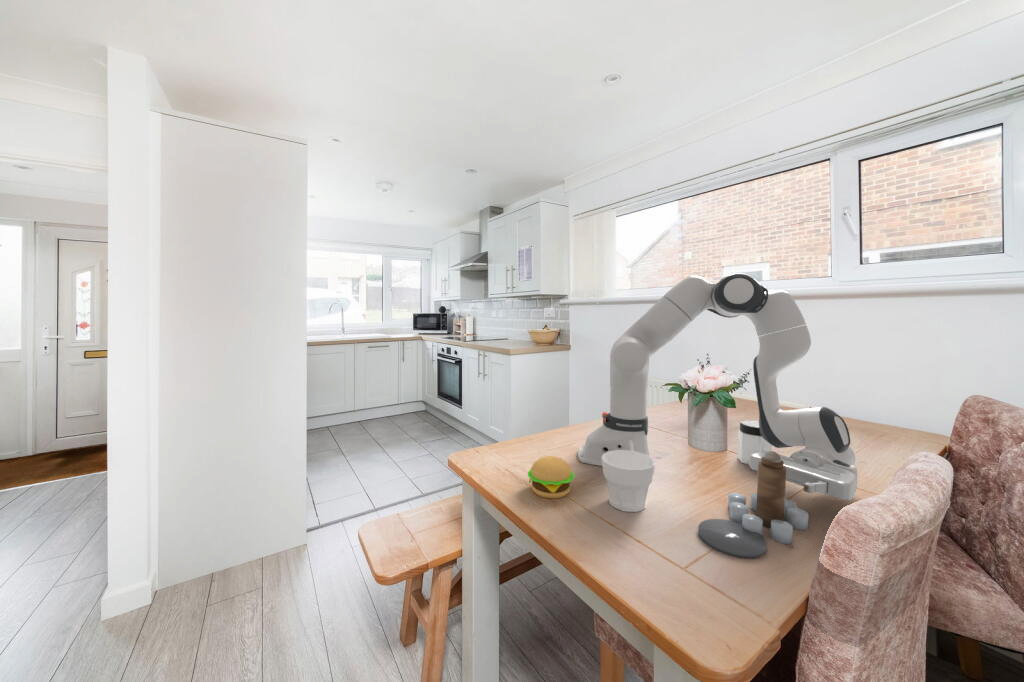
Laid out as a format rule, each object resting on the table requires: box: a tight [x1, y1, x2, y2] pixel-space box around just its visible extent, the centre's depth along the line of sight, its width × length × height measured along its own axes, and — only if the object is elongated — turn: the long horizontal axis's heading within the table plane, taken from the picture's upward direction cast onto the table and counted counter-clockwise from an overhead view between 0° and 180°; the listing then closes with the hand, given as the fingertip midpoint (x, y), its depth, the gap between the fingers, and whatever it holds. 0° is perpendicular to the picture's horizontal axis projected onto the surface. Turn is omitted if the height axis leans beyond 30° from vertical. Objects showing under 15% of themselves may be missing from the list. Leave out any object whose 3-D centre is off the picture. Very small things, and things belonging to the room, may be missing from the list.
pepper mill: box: [755, 450, 787, 530], centre depth 82 cm, size 5×5×16 cm
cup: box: [601, 450, 656, 513], centre depth 91 cm, size 12×12×11 cm
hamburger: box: [527, 455, 575, 499], centre depth 98 cm, size 12×12×9 cm
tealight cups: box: [727, 492, 809, 545], centre depth 83 cm, size 15×16×3 cm
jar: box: [736, 419, 773, 466], centre depth 117 cm, size 9×8×12 cm
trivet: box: [697, 518, 768, 559], centre depth 77 cm, size 12×12×1 cm
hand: (782, 480), depth 85 cm, fingers open, 8 cm apart
